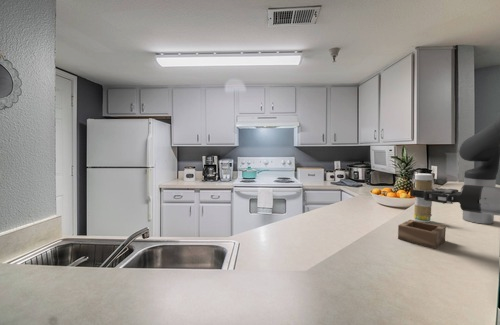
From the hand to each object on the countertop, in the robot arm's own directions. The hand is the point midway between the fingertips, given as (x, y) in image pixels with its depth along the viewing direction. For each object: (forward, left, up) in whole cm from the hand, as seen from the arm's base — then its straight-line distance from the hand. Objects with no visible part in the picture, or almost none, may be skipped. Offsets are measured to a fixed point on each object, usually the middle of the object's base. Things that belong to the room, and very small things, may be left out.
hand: (413, 192), depth 80 cm
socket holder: (0, +3, -15) cm, 15 cm away
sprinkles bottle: (0, +3, -7) cm, 8 cm away
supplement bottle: (-24, -4, -15) cm, 29 cm away
